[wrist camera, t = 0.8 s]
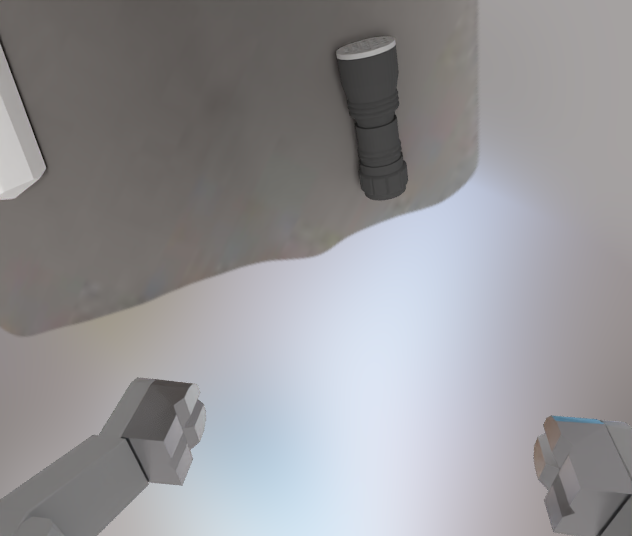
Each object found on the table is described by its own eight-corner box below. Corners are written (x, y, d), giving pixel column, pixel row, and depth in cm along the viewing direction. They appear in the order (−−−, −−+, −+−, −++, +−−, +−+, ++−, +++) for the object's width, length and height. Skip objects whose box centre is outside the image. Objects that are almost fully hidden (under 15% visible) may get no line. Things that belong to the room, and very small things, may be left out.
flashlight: (401, 176, 50) (417, 197, 46) (357, 189, 50) (368, 210, 46) (385, 33, 41) (402, 41, 37) (331, 48, 41) (342, 58, 37)
